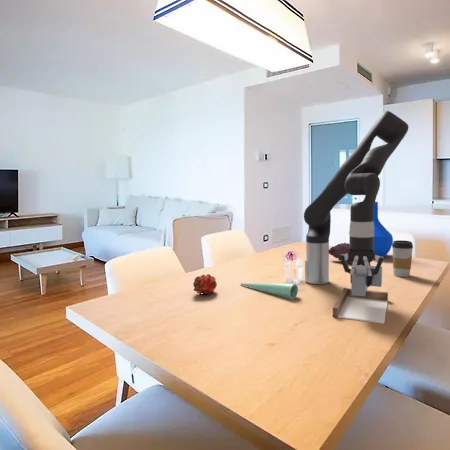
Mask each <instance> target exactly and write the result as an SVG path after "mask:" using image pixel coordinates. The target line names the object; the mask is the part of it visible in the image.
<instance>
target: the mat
mask: <svg viewBox="0 0 450 450" xmlns="http://www.w3.org/2000/svg"><path fill="white" fill-rule="evenodd" d="M388 301H389V300H388ZM388 301H385V300H376V299H367V298H357V297H348V296H347V298H346V300H345V302H344V304H343V306H342V308H341V310H340V312H339V315H338V317H337V318H338V319H345V320H346V319H347V320H353V321H362V322H368V323H369V322H370V323H376V324H385V321H386V316H387V315H386V314H387V307H388Z"/></svg>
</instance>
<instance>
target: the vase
mask: <svg viewBox="0 0 450 450" xmlns="http://www.w3.org/2000/svg"><path fill="white" fill-rule="evenodd" d="M373 224H374V252H375V255H378V256H383V257H386V256H387V255H388V254H389V252H390V251H391V249H392V244H393V241H394V238H393V234H392V233H391V232H390V231H389V230H387V228H385V226H384V225H383V224H382V223H381V221H380V219H379V201H375V204H374V210H373Z"/></svg>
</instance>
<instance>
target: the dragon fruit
mask: <svg viewBox="0 0 450 450" xmlns="http://www.w3.org/2000/svg"><path fill="white" fill-rule="evenodd" d="M216 280H217V279H216V277H215V276H212V275H211V274H210V273H209V274H202V275H200V276H196V277H195V278H194V281H193V283H192V285H193V287H194V288H193V291H194V292H196V294H199V293H204V294H206V293H207V294H206V295H209V294H210V295H211V294H212V293H211V292H213V291H215V290H216V288H217V286H218V284H217V281H216ZM208 293H209V294H208ZM213 293H214V292H213ZM199 295H200V294H199Z"/></svg>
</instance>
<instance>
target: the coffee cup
mask: <svg viewBox="0 0 450 450" xmlns="http://www.w3.org/2000/svg"><path fill="white" fill-rule="evenodd" d="M413 248H414V244H413V241H410V240H402V239H401V240H399V239H398V240H393V244H392V246H391V249H392V269H393V275H394V276H395V277H398V278H408V277H409V276H410V274H411V269H412V258H413Z"/></svg>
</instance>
